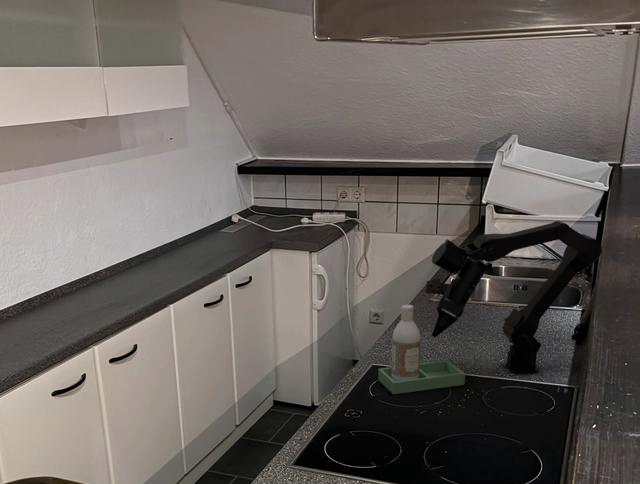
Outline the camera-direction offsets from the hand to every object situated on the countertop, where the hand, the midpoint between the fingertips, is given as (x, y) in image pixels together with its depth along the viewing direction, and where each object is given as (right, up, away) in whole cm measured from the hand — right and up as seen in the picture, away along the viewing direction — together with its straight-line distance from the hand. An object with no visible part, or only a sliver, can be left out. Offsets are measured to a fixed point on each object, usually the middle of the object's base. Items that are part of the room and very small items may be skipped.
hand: (434, 335), depth 195 cm
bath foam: (-8, -12, -1) cm, 14 cm away
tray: (-3, -12, 0) cm, 12 cm away
